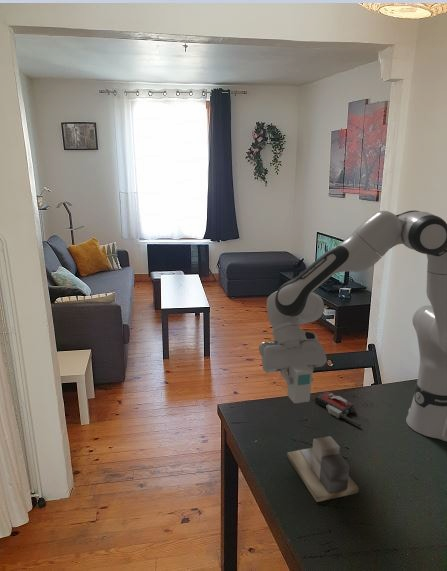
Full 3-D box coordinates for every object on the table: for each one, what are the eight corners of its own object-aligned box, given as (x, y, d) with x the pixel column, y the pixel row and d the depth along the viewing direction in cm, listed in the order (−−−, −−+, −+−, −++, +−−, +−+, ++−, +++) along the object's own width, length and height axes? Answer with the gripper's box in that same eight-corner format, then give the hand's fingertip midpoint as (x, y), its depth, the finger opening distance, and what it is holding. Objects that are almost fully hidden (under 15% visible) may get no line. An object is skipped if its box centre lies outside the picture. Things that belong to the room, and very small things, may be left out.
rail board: (323, 449, 126) (326, 417, 123) (358, 492, 109) (362, 456, 106) (286, 456, 122) (288, 424, 120) (316, 502, 106) (319, 465, 103)
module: (302, 393, 130) (304, 363, 127) (309, 401, 125) (312, 371, 123) (287, 394, 129) (289, 365, 126) (294, 403, 124) (297, 373, 121)
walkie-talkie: (310, 404, 151) (358, 430, 136) (310, 393, 150) (359, 418, 135) (325, 396, 156) (373, 421, 141) (326, 385, 155) (375, 409, 140)
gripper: (260, 338, 126) (271, 383, 120) (321, 333, 132) (334, 376, 125) (254, 346, 131) (264, 390, 125) (313, 341, 137) (326, 382, 130)
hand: (300, 383), depth 125 cm, fingers closed on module, 5 cm apart
